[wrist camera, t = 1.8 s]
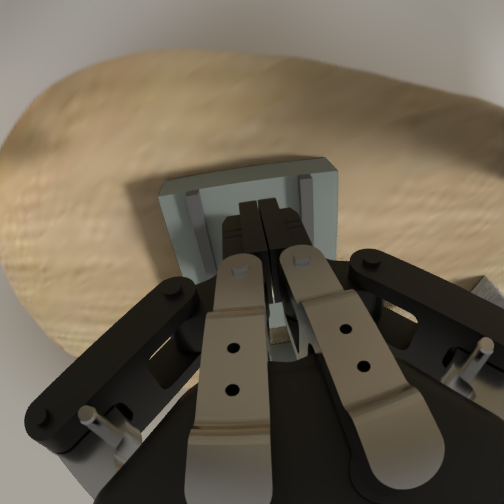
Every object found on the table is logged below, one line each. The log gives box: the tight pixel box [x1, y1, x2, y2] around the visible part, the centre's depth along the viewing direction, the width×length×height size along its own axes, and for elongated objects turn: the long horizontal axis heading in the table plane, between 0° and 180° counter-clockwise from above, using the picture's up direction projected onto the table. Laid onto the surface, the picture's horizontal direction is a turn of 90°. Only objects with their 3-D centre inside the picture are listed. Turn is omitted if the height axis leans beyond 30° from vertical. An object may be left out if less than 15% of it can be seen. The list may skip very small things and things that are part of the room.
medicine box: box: [471, 276, 504, 309], centre depth 38 cm, size 8×4×9 cm, turn 61°
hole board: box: [158, 158, 338, 362], centre depth 34 cm, size 15×30×4 cm, turn 7°
